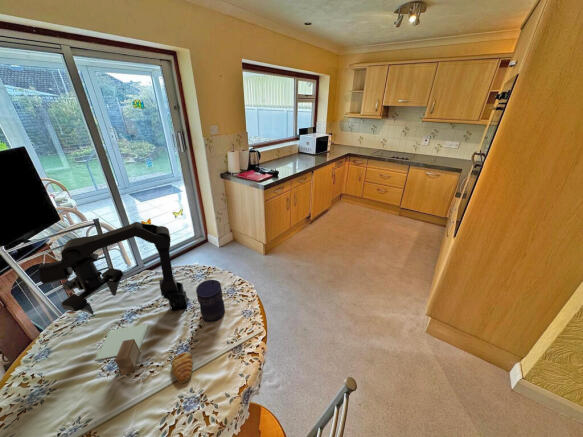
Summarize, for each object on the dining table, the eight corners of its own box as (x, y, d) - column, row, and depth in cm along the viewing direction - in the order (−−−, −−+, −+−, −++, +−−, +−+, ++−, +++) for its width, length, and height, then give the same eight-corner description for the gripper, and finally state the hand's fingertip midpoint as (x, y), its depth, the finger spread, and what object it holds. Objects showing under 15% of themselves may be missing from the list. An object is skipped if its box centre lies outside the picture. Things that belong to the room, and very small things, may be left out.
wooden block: (141, 352, 86) (134, 338, 82) (134, 372, 80) (127, 357, 76) (130, 354, 85) (123, 340, 81) (122, 374, 79) (114, 360, 75)
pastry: (196, 377, 79) (194, 370, 77) (175, 388, 75) (172, 382, 74) (191, 354, 86) (189, 347, 84) (171, 363, 83) (168, 357, 81)
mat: (148, 324, 96) (148, 323, 96) (138, 351, 86) (138, 351, 86) (110, 331, 93) (109, 330, 93) (95, 360, 83) (94, 359, 83)
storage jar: (216, 325, 96) (211, 299, 89) (196, 319, 99) (190, 293, 92) (229, 307, 105) (225, 282, 98) (211, 301, 107) (206, 277, 100)
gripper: (94, 253, 91) (108, 283, 98) (38, 287, 75) (60, 320, 82) (117, 257, 88) (130, 288, 96) (65, 293, 72) (85, 326, 80)
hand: (103, 304), depth 88 cm, fingers open, 9 cm apart
